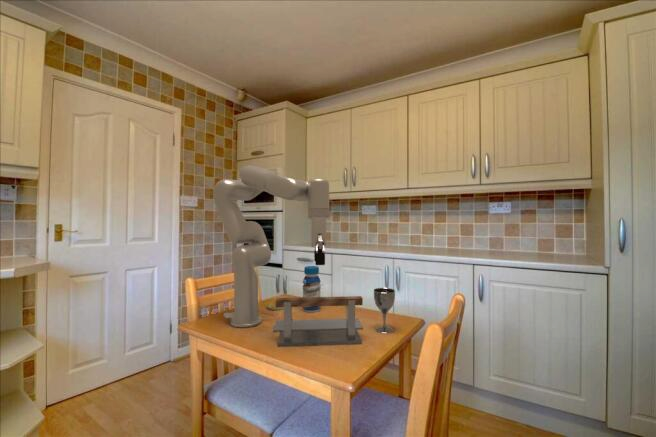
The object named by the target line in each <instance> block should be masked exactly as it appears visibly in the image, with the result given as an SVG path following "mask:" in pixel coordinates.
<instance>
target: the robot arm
mask: <svg viewBox="0 0 656 437" xmlns="http://www.w3.org/2000/svg"><path fill="white" fill-rule="evenodd" d="M238 178H239V180H238V179H230V178H226V179H225V178H224V179H221V180H219V181H217V183H215V184H214V187H213V191H212V193H213V194H212V196H213V202H214V205H215V208H217V211H218V213H219V215H220V218H221V220H222V224H223V226H224V229H225V232H226V235H227V237H228V240H229V242H230V243H232V244H234V245H240V246H237V247H236V248H234V249H233V251H232V252H231V263H232V269H233V280H234V281H233V283H234V284H233V293H234V295H233V298H234V299H233V300H234V301H233V302H234V303H233V305H234V306H233V310H234V311H231V312H223V318H225V320H228V319H230V321H229V322H230V325H231V326H232V327H235V328H251V327H255V326H258V325H260V324H261V323H262V322H263V317H262V316H261V315H259V275H258V274H257V272H256V269H255V268H256V267H261V266H264V265H268V263H270V261H271V258H272V250H271V248H270V245H269V242H268V240H267V236H266V234H265V231H264V229H263V227H262V226H261V224H259V223H258V222H256V221H253V220H248V221H247V220H246V219H245V218H244V215H243V212H242V210H241V208H240V206H239V205H237V204H236V202H234V201H251V200H253V199H254V198H256V197H257V196H258V195H260V194H261V193H263V192H266V193H268V195H269V194H270V195H272V196H274V197H278V198H280V199H284V200H286V201H287V200H288V201H295V202H296V201H297V202H307V216H308V217H307V218H308V219H311V220H310V245H311V247H312V248H314V250H313V252H314V253H313V256H314V260H313V261H314V262H315V265H316V266H325V265H326V253H325V247H326V245H327V219H331V218H330V182H329V180H327V179H325V178H313V179H309V181H306V180H301V179H297V178H296V179H295V178H292V177H286V176H283V175H280V174H279V173H278V172H276V171H274V170H271V169H268V168H266V167H261V166H256V165H251V164H250V165H249V164H248V165H244V166H243V167H242V168H240V170H239V173H238ZM241 244H242V245H241Z"/></svg>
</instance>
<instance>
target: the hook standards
mask: <svg viewBox="0 0 656 437" xmlns="http://www.w3.org/2000/svg"><path fill="white" fill-rule="evenodd" d="M292 308H293V307H291V301H288V302H284V309H283V320H284V332H279V336H278V340H277V347H279V348H281V347H305V346H306V347H307V346H330V345H331V346H337V345H338V346H339V345H343V346H344V345H358V344H359V345H361V344H363V343H362V342H363V339H362V338H361V336H360V334H359V331H358V329H355V318H356V305H355V300H348V306H345V308H346V310H345V315H346V316H345V319H346V330H320V331H292V320H293V319H292V318H293V315H292V314H293V311H292V310H293V309H292Z"/></svg>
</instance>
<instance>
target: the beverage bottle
mask: <svg viewBox="0 0 656 437" xmlns="http://www.w3.org/2000/svg"><path fill="white" fill-rule="evenodd" d="M303 272H304V278H303V280H302V283H303V285H302V298H303V297H321V290H322V286H321V278H320V277H319V274H320V266H319V265H316V266H315V265H308V266H307V265H306V266H305V267H304V271H303ZM321 307H322V306H312V307H302V310H303V311H304V312H307V313H316V312H317V313H318V312H319V311H320V310H321Z"/></svg>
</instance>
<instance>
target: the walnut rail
mask: <svg viewBox="0 0 656 437" xmlns="http://www.w3.org/2000/svg"><path fill="white" fill-rule="evenodd" d="M363 299H364V298H363V296H361V295H355V296H353V295H351V296H320V297H303V296H302V297H276V299H275V300H276V307H284V302H288V301H291V307H292V308H300V307H302V308H303V307H312V306H321V307H339V306H340V307H343V306H345V307H346V306H348V300H355V306H363Z"/></svg>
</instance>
